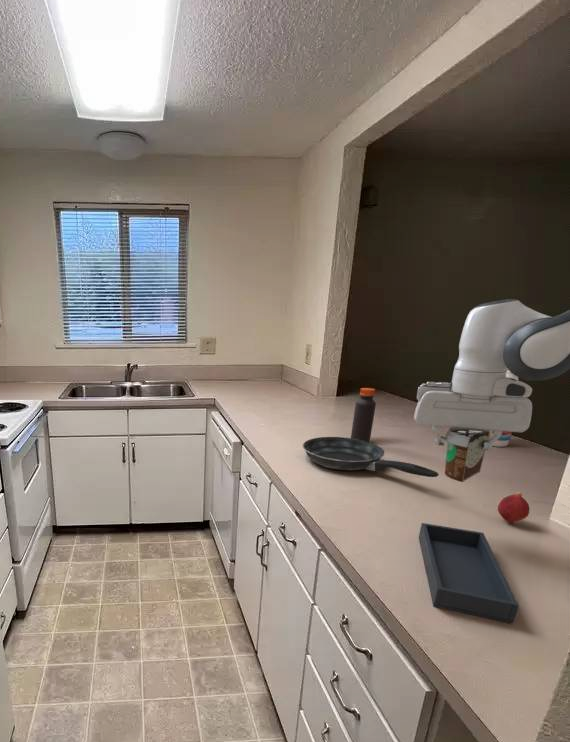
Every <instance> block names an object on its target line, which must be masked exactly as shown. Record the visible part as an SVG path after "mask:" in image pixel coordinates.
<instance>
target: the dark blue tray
mask: <svg viewBox="0 0 570 742" xmlns="http://www.w3.org/2000/svg"><path fill="white" fill-rule="evenodd" d="M418 541H419V545H420V550H421V555H422V559H423V565H424V569H425V574H426V578H427V584H428V587H429V593H430V598H431V603H432V606H433V607H435V608H439V609H443V610H448V611H452V612H458V613H462V614H466V615H471V616H475V617H479V618H484V619H487V620H492V621H493V620H494V621H498V622H501V623H506V624H510V625H514V622H515V619H516V616H517V613H518V610H519V607H520V605H519V603H518V601H517V599H516V596H515V595H514V593H513V591H512V588H511V586H510V584H509V582H508V580H507V579H506V576H505V574H504V572H503V570H502V568H501V566H500V564H499V562H498V560H497V558H496V556H495V554H494V552H493V550H492V548H491V546H490V544H489V542H488V540H487V538H486V535H485V533H484V532H480V531H475V530H469V529H462V528H456V527H451V526H450V527H449V526H443V525H437V524H431V523H426V522H422V523H421V524H420V530H419V533H418Z"/></svg>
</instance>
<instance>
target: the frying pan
mask: <svg viewBox="0 0 570 742" xmlns="http://www.w3.org/2000/svg"><path fill="white" fill-rule="evenodd" d="M302 449H303V450H304V451H305V453H306V456H307V457H308V458H309V459H310V460H311V461H313V463H315V464H317V465H319V466H322V467H325V468H327V469H328V468H329V469H331V470H339V471H360V470H367V471H374V472H375V473H382V472H385V471H386V470H387V469H388V468H389V469H395V470H397V471H400V472H404V473H406V474H411V475H416V476H422V477H428V478H437V477H439V473H438V471H436V470H433V469H430V468H427V467H426V466H421V465H419V464H415V463H412V462H411V463H410V462H406V461H405V462H404V461H399V460H384V459H381V458H382V457H384V456H385V450H384V449H383V448H382V447H380V446H379V445H377V444H374V443H372V442H371V441H370V442H366V441H363V440H358V439H352V438H351V437H342V436H321V437H315V438H310V439H307V440H305V441H304V442H303V443H302ZM380 459H381V460H380Z"/></svg>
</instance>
